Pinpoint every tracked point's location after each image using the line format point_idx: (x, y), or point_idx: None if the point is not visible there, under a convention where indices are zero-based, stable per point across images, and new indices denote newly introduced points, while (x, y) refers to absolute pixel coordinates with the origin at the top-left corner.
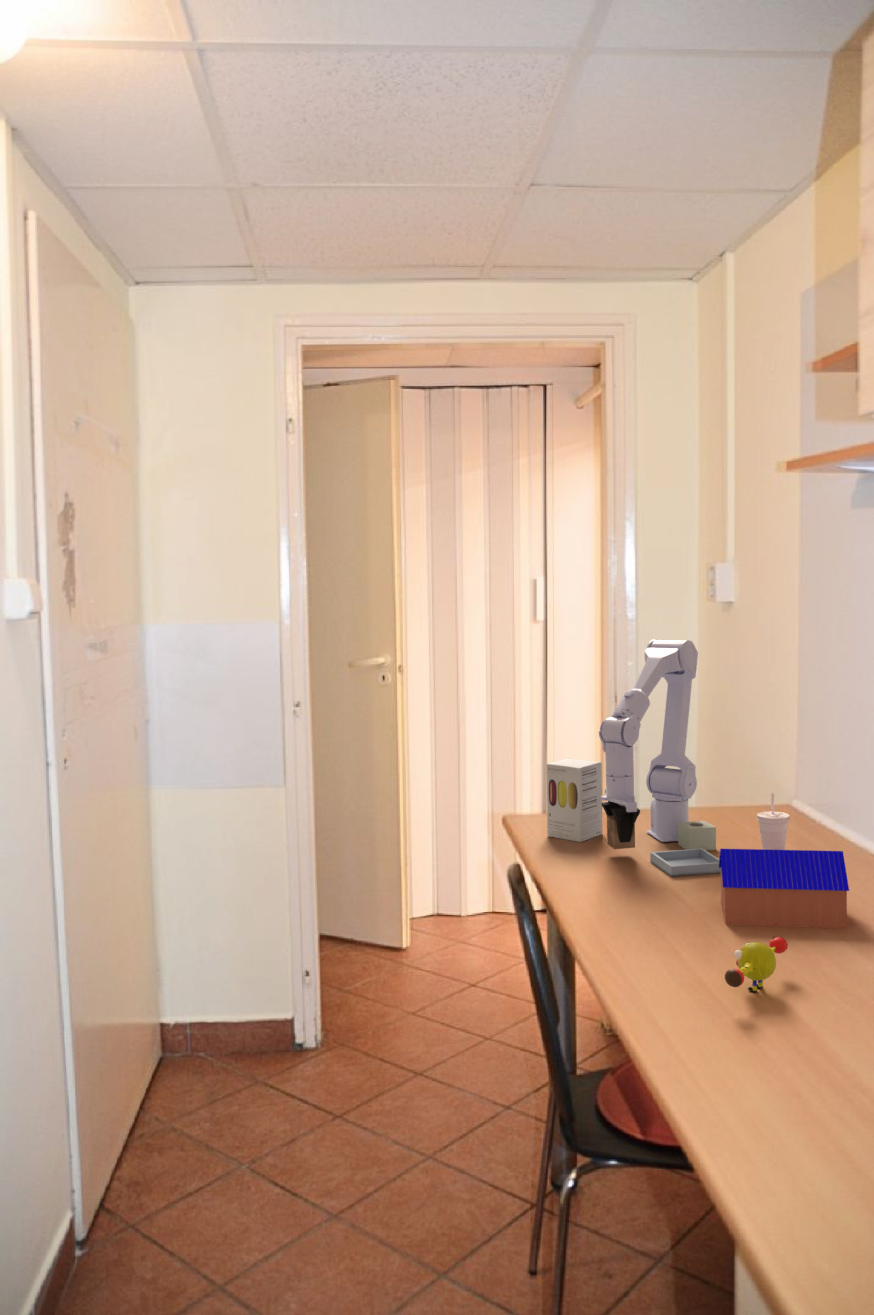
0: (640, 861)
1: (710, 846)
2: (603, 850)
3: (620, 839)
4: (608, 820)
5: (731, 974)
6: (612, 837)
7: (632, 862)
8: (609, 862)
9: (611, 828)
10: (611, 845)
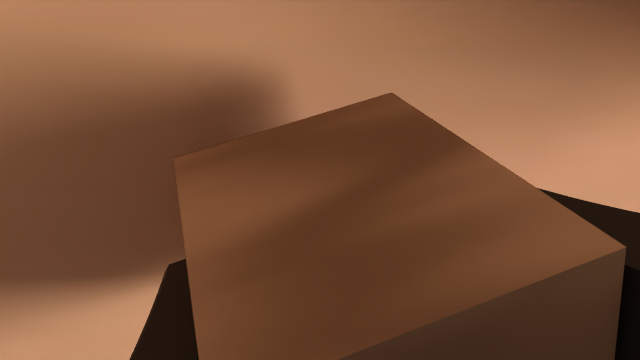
0: (146, 309)
1: None
2: (484, 39)
3: (161, 283)
4: (495, 244)
5: None
6: (246, 192)
7: (109, 258)
8: (87, 70)
9: (311, 240)
10: (268, 137)
